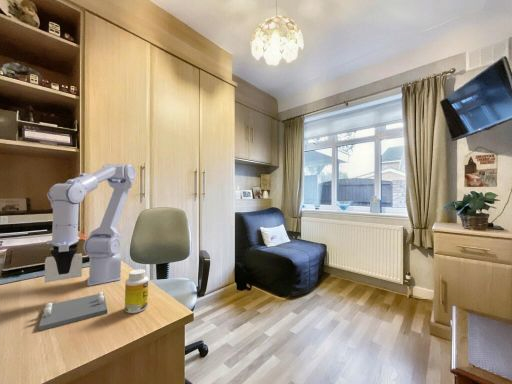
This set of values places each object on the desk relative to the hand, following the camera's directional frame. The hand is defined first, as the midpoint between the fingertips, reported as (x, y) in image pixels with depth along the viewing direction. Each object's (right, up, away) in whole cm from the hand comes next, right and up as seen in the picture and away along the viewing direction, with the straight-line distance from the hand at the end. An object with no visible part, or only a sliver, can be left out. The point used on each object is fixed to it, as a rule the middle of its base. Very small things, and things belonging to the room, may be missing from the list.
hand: (64, 271), depth 65 cm
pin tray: (+8, -9, -6) cm, 13 cm away
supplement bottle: (+23, -9, -4) cm, 25 cm away
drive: (0, -2, 0) cm, 2 cm away
